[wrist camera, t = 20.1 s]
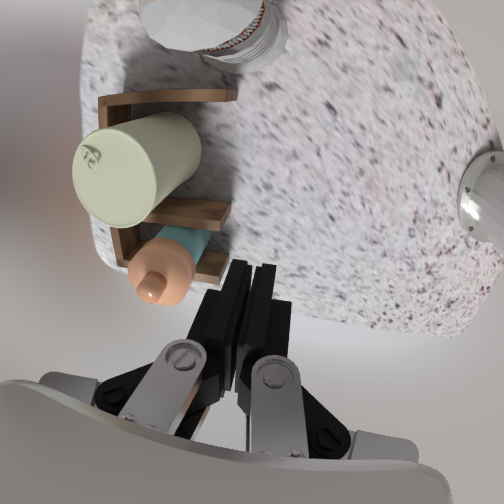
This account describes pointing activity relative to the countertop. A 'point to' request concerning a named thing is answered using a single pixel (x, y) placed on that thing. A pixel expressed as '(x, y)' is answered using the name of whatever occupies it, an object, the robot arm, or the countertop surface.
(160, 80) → the countertop surface
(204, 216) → the caddy
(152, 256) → the lid
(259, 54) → the french press
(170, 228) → the jar
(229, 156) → the countertop surface
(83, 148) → the can
